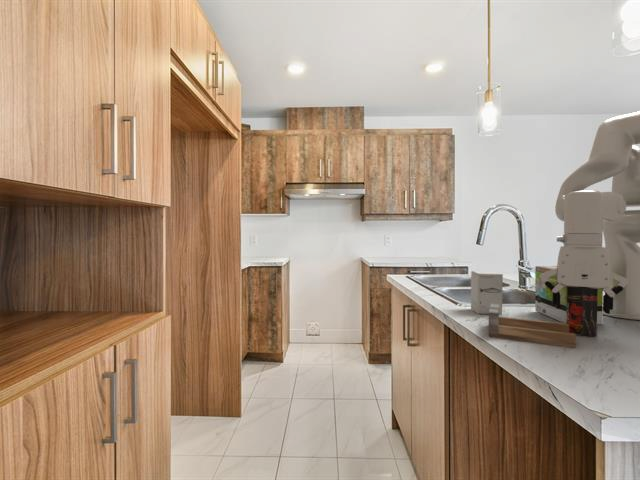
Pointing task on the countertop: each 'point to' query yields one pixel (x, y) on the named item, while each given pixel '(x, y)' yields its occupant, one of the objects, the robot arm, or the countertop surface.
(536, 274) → the tea box
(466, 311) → the countertop surface
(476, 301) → the supplement box
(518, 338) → the channel
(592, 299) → the black package box
